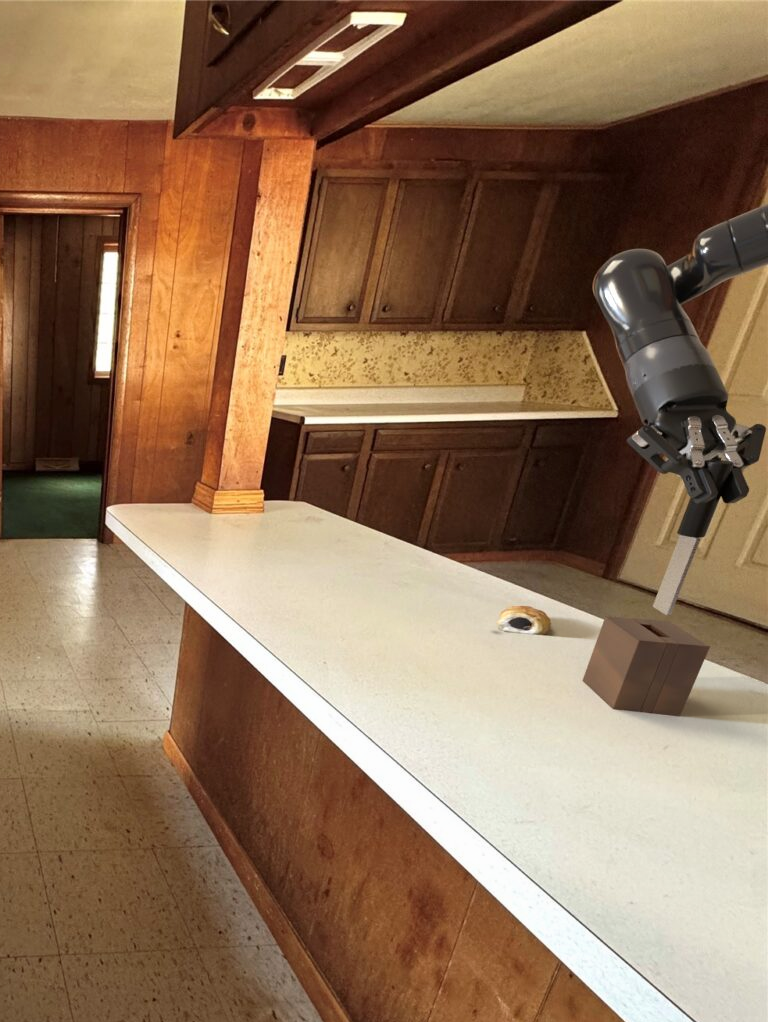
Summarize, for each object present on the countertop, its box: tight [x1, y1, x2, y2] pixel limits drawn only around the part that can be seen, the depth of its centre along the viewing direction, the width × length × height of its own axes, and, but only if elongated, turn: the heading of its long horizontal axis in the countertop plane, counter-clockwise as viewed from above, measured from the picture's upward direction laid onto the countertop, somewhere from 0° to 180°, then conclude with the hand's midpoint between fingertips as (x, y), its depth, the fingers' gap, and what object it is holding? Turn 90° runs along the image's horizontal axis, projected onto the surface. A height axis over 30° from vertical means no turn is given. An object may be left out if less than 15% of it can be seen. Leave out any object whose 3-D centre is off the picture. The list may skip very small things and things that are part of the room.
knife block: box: [582, 615, 711, 717], centre depth 88 cm, size 7×8×11 cm
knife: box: [652, 459, 734, 617], centre depth 81 cm, size 2×3×19 cm
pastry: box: [496, 605, 552, 636], centre depth 112 cm, size 9×7×4 cm
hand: (722, 499), depth 77 cm, fingers closed on knife, 2 cm apart
